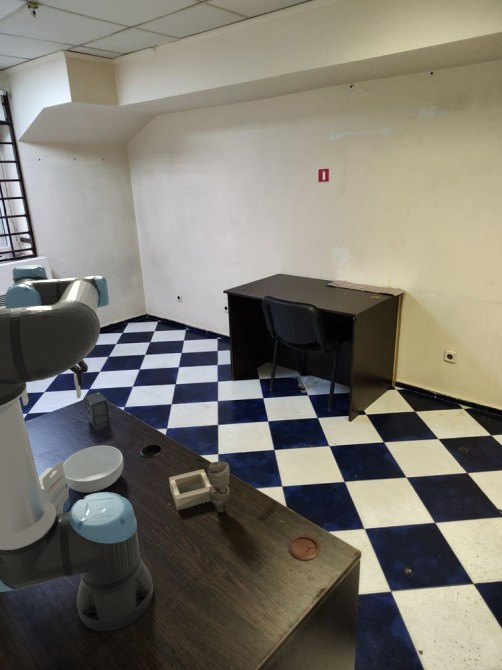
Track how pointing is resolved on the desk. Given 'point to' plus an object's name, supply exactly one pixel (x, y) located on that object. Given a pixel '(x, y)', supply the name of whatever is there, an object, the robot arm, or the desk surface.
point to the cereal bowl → (93, 468)
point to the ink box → (55, 487)
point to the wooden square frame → (190, 489)
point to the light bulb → (219, 484)
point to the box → (97, 410)
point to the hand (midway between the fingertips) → (53, 399)
